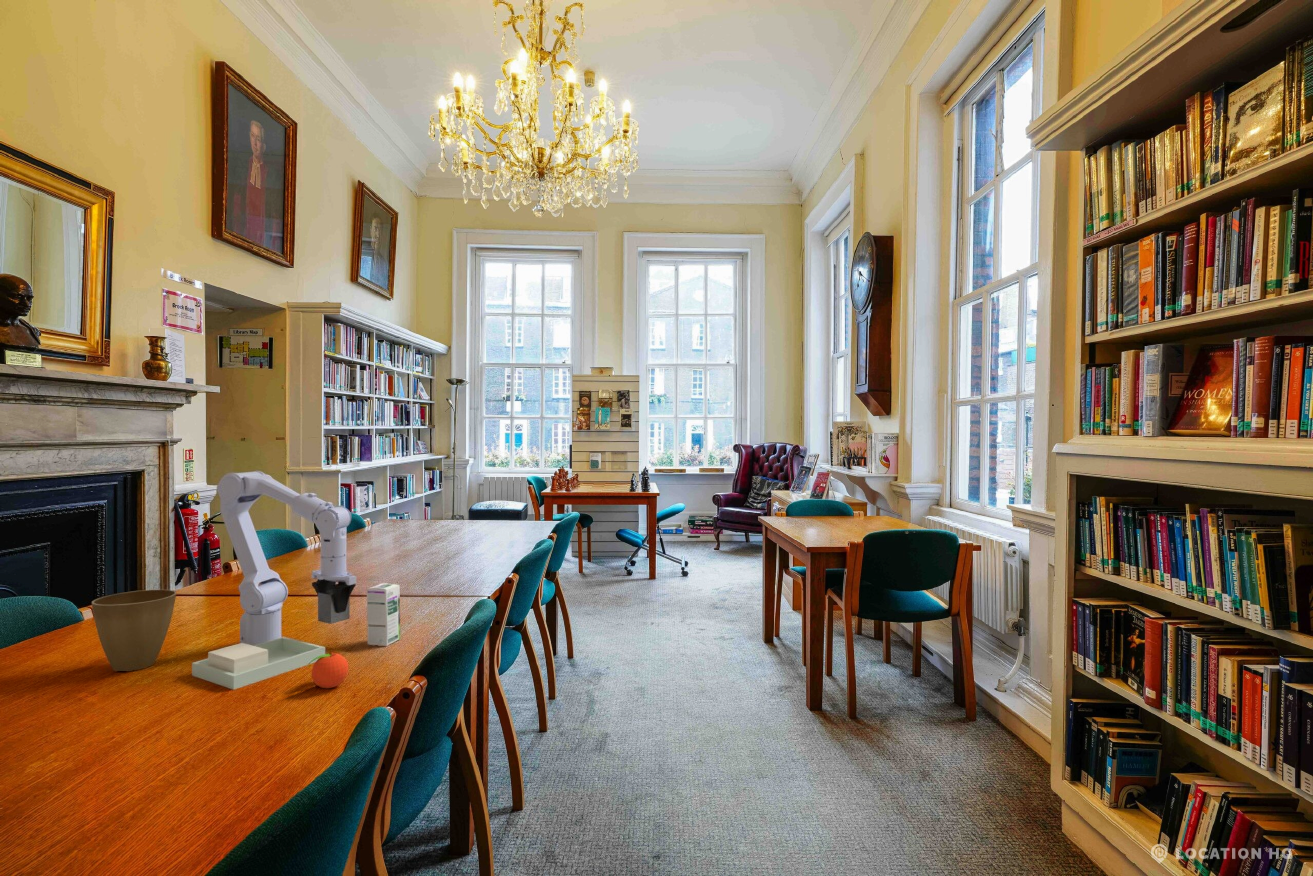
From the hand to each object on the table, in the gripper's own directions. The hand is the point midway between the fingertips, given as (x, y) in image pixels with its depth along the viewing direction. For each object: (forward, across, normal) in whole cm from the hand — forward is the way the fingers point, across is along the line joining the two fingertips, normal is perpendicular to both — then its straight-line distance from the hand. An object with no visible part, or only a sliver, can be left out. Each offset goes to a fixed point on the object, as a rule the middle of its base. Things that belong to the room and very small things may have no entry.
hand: (333, 610), depth 155 cm
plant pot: (+10, -29, -29) cm, 42 cm away
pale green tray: (+9, -1, -17) cm, 19 cm away
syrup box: (+10, +7, +9) cm, 15 cm away
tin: (+2, 0, 0) cm, 2 cm away
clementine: (+10, +21, -16) cm, 28 cm away
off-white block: (+9, -1, -22) cm, 23 cm away
